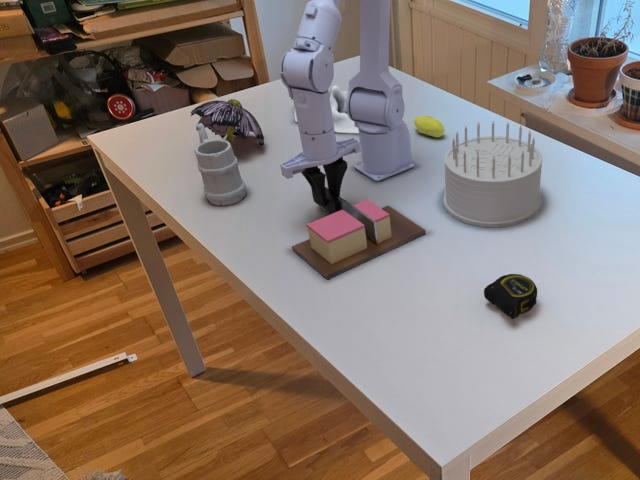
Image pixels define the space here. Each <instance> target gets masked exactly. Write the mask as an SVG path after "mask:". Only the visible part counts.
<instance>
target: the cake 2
mask: <svg viewBox="0 0 640 480" xmlns="http://www.w3.org/2000/svg"><path fill="white" fill-rule="evenodd" d="M480 129H481V125H480V121H478V122H477V125H476V130H477V131H476V137H473V138H468V127H467V125H465V127H464V140H463V141H460V140H459V131H458V130H457V131H456V133H455V137H453V138H452V146H451V147H450V148H449V149H448V150H447V151H446V152H445V154H444V185H445V186H444V193H443V198H442V201H443V207H444V210H445V211H446V213H448V215H449V216H451V217H452V218H454V219H455V220H457V221H459V222H461V223H464V224H466V225H470V226H474V227H479V228H480V227H481V228H506V227H510V226H515V225H517V224H522V223H524V222H527V221H529V220H530V219H531V218H533V217H534V216H536V214H537V213H538V212H539V210H540V209H541V206H542V194H541V192H540V191H541V190H540V189H541V178H542V165H543V164H542V163H543V157H542V153H541V151H540V150H539V149H538V148H537V147H536V146H535V143H536V140H535V137H534V136H533V138H532V137H531V136H532V133H531V130H529V132H528V135H527V142H526V141H524V140H522V135H523V134H522V133H523V128H522V125H520V126H519V128H518V138H514V137H509V136H510V134H509V132H510V124H509V121H507V123H506V128H505V129H506V130H505V132H506V133H505V136H499V135H495V120H492V122H491V135H490V136H481V134H480V131H481V130H480ZM531 139H532V141H531ZM459 141H460V142H459Z"/></svg>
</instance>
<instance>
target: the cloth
mask: <svg viewBox="0 0 640 480" xmlns="http://www.w3.org/2000/svg"><path fill="white" fill-rule="evenodd" d="M347 95H348V90H343V91H342V90H341V89H340V88H339V86H337V85H333V86H330V87H329V97H330V104H331V110H332V117H333V124H334V130H335V133H338V134H354V135H355V134H357V135H359V129H358V128H357V127H355V124H354V121H352V120H350V118H349V117H348V114H347V111H346V98H347ZM293 107H294V109H293V115H294V121H295V122H296V123H298V122H297V117H296V111H295V106H294V105H293Z"/></svg>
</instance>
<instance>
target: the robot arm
mask: <svg viewBox="0 0 640 480" xmlns="http://www.w3.org/2000/svg"><path fill="white" fill-rule="evenodd" d="M341 2H342V0H309V1H308V2H306V4H305V7H304V11H303V13H302V17H301V20H300V23H299V27H298V30H297V33H296V37H295V40H294V44H293V47H292V48H290V49H289V50H287V51H286V52H285V53H284V54H283V55H282V58H281V62H280V72H279V77H280V80H281V82H282V84H283V85H284V86H285V87H286V89H287V92H288V97H289V98H290V100H292V101H293V107H294V106H295V111H296V117H297V122H296V123H297V127H298V130H299V131H298V132H299V137H300V142H301V148H302V151H301V152H300V153H298V154H297V155H294V157H292V158H290V159H288V160H287V161H285V162H282V163H280V164H279V166H280V167H279V168H280V171H281V175H282V176H283V177H284V178H286V179H287V180H290V179H293V178H294V175H297V174H302V176H303V177H304V178H305V180H306V181H307V183H308V184H309V187H310V188H311V187H312V189H313V191H314V193H315V195H316V198H317V200H318V203H320V204H321V205H322V206H327V197H326V192H325V187H326V183H327V188H328V189H329V190H331V191H332V192H334V193H335V194H336V195H338V196H340V197H341V189H342V183H343V180H344V176H345V174H346V171H348V161H346V160H345V159H344V157H346V156H348V155H351V154H361V162H359V163H357V164H355V165H354V166H353V167H354V169H355V170H357V171H358V172H360V173H361V174H364V175H365V176H366V177H368V178H369V179H371V180H372V181H374V182H380V181H382V180H385V179H388V178H390V177H393V176H395V175H397V174H400V173H402V172H405V171H407V170H410V169H412V168H414V167H415V163H413V158H412V144H411V143H412V141H411V133H410V131H409V128H408V125H407V123H406V122H405V121H404V115H405V101H404V96H403V85H402V83H401V82H400V81H399V80H398V79H397V78H396V77H395V76H394V75H392V74H391V72H390V71H389V69H390V68H389V66H390V65H389V63H390V23H391V21H390V19H391V17H390V16H391V0H359V71H358V72H357V73H356V74H355V75H354V76H352V77H351V78H350V79H349V81H348V89H347V91H348V95H347V98H346V111H347V114H348V117H349V118H350V120H352V121H354V124H355V127H357V128H358V129H359V134H358V135H359V136H358V137H359V140H358V139H356V138H354V137H352V138H349V139H345V140H340V141H339V140H338V141H337V137H336V132H335V130H334V124H333V117H332V110H331V104H330V97H329V91H330V88H331V86H332V83H333V81H334V75H335V67H334V62H335V55H334V54H333V51H334V48H335V44H336V41H337V38H338V35H339V32H340V29H341V25H342V22H343V18H342V15H341V12H340V10H339V7H340V4H341ZM321 166H322V168H323V170H324V172H322V171H321ZM319 167H320V168H319ZM312 189H311V190H312Z"/></svg>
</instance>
